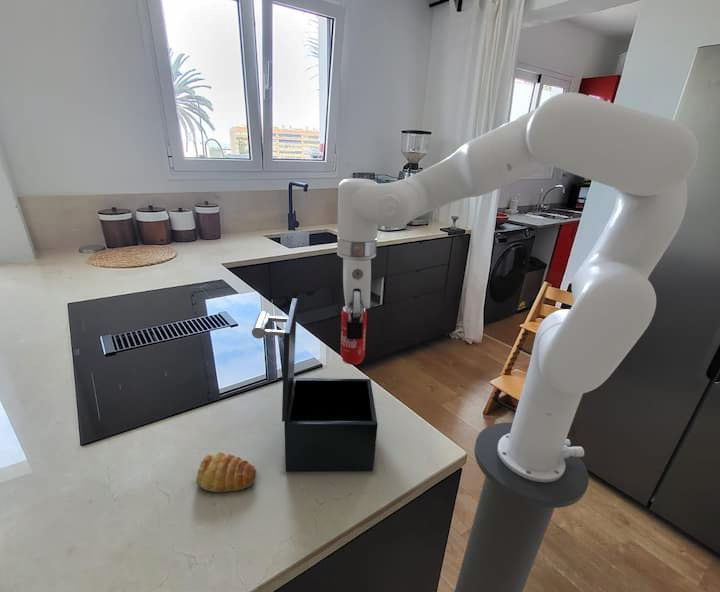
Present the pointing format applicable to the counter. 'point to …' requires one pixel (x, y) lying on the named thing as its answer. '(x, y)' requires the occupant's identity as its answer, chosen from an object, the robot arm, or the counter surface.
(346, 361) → the beverage can
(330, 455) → the waste bin
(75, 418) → the counter surface
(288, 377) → the bin lid
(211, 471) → the pastry
